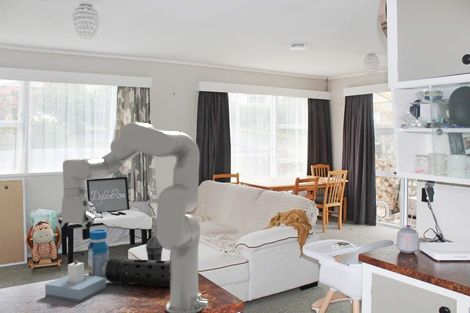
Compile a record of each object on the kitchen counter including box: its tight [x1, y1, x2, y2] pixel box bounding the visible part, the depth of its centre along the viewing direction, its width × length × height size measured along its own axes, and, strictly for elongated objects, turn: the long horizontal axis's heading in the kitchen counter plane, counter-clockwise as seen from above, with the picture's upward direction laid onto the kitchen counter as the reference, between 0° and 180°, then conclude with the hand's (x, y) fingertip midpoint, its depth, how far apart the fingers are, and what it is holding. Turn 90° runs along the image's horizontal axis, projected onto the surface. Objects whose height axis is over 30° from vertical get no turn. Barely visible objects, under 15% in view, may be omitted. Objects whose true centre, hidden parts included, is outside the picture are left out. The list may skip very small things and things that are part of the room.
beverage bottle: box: [87, 229, 110, 277], centre depth 170 cm, size 8×8×20 cm
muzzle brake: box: [102, 257, 170, 288], centre depth 163 cm, size 10×28×10 cm, turn 78°
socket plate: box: [44, 274, 107, 304], centre depth 155 cm, size 16×14×4 cm
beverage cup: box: [145, 226, 164, 261], centre depth 177 cm, size 7×7×20 cm
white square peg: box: [67, 259, 85, 284], centre depth 154 cm, size 4×4×11 cm
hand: (75, 238), depth 154 cm, fingers open, 9 cm apart
